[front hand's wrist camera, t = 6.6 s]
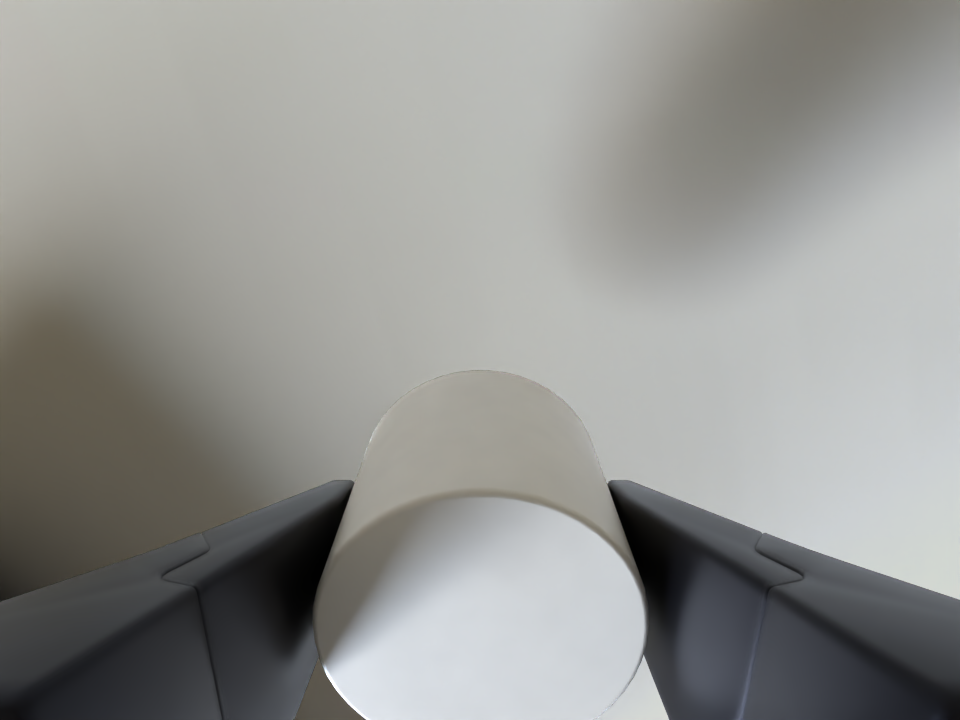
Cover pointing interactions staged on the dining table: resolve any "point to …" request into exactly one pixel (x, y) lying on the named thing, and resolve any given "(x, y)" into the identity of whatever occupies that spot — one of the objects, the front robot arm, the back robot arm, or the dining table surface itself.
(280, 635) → the front robot arm
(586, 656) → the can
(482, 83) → the dining table surface
